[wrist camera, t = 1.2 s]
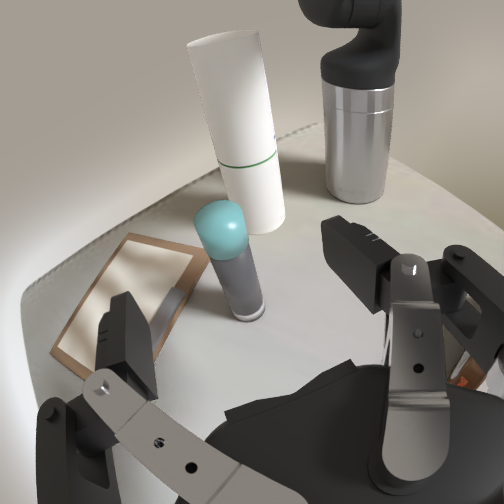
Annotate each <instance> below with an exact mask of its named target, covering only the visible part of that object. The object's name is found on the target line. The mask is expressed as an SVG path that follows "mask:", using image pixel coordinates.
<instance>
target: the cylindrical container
mask: <svg viewBox="0 0 504 504" xmlns="http://www.w3.org/2000/svg"><path fill="white" fill-rule="evenodd" d="M186 46H187V50H188V53H189V57H190V61H191V65H192V68H193V72H194V76H195V79H196V83H197V86H198V90H199V94H200V98H201V101H202V105H203V108H204V113H205V116H206V120H207V124H208V127H209V131H210V134H211V138H212V141H213V145H214V149H215V152H216V156H217V160H218V163H219V167H220V170H221V174H222V178H223V181H224V185H225V188H226V192H227V195H228V199H229V201H233V202H235V203H237V204H238V205H239V206H240V207H241V209H242V213H243V217H244V221H245V225H246V229H247V232H248V234H252V235H261V234H266V233H269V232H272V231H274V230H275V229H277V228H278V227H279V226H280V225H281V224H282V223H283V221H284V219H285V208H284V200H283V192H282V184H281V176H280V168H279V161H278V153H277V146H276V139H275V132H274V125H273V119H272V112H271V105H270V99H269V92H268V86H267V80H266V74H265V68H264V63H263V56H262V50H261V44H260V39H259V33H258V31H257V30H237V31H229V32H224V33H219V34H214V35H211V36H207V37H204V38H200V39H198V40H195V41H192V42H190V43H188V44H187V45H186Z"/></svg>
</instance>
